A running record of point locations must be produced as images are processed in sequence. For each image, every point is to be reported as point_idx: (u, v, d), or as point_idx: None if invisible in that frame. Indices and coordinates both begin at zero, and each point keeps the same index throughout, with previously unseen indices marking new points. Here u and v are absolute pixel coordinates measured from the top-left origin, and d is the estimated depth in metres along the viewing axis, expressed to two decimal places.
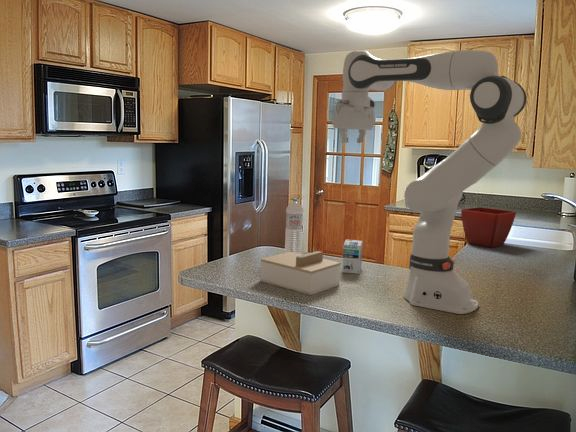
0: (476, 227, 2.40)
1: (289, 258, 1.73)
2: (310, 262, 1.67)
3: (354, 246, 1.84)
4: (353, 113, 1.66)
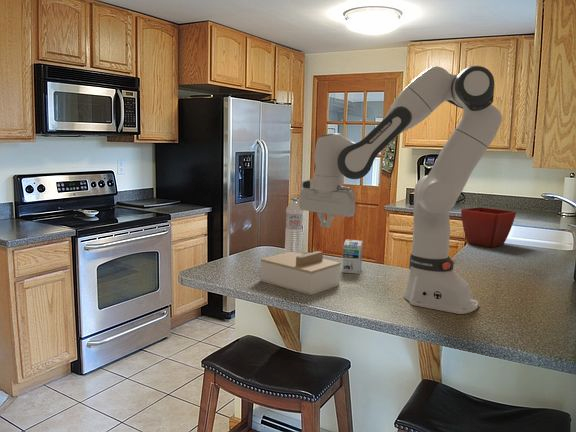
0: (476, 227, 2.40)
1: (289, 258, 1.73)
2: (310, 262, 1.67)
3: (354, 246, 1.84)
4: None
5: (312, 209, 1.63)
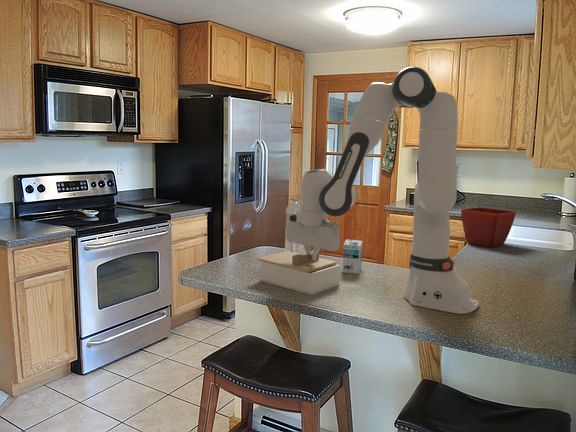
0: (476, 227, 2.40)
1: (286, 257, 1.74)
2: (306, 261, 1.68)
3: (354, 246, 1.84)
4: None
5: (298, 242, 1.68)
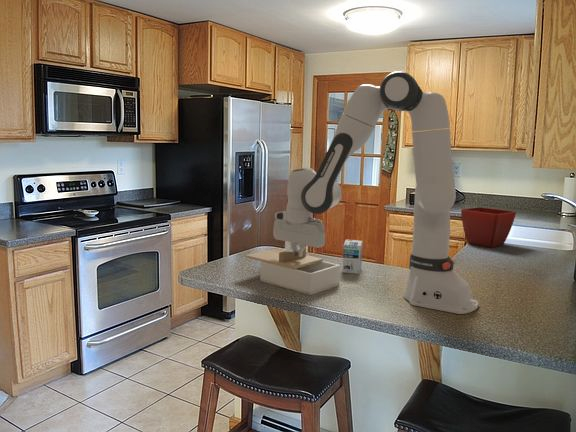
0: (476, 227, 2.40)
1: (273, 254, 1.78)
2: (293, 258, 1.72)
3: (354, 246, 1.84)
4: None
5: (285, 239, 1.71)
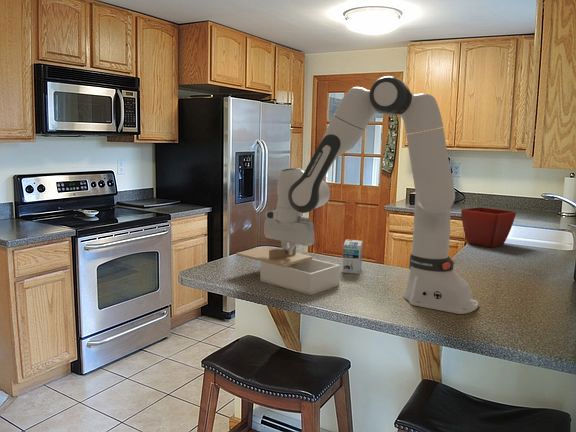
0: (476, 227, 2.40)
1: (264, 252, 1.81)
2: (283, 256, 1.74)
3: (354, 246, 1.84)
4: None
5: (275, 237, 1.74)
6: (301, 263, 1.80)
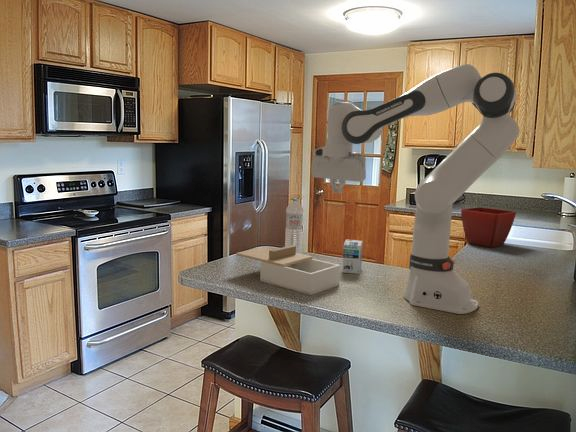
0: (476, 227, 2.40)
1: (264, 252, 1.81)
2: (283, 256, 1.74)
3: (354, 246, 1.84)
4: None
5: (324, 176, 1.71)
6: (301, 263, 1.80)
